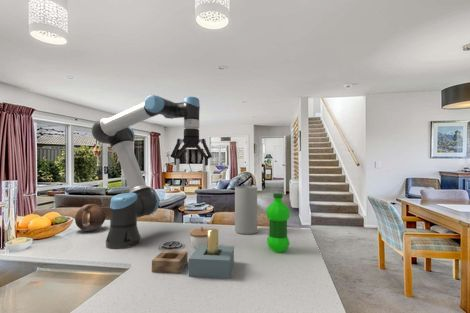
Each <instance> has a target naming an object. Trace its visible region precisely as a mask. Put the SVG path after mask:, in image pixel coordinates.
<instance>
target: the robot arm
mask: <svg viewBox="0 0 470 313" xmlns="http://www.w3.org/2000/svg"><path fill="white" fill-rule="evenodd" d="M200 106H201V105H200V99H199V98H198V97H197V96H185V97H184V99H183V102H173V101H171V100H169V99H167V98H166V99H165V98H164V97H161V96H159V95H155V94H150V95H148V96H147V97H146V98H145V99H144V101H143V102H141V103H140V104H138V105H134V106H133V107H131V108H128V109H127V110H123V111H122V112H119V113H117V114H115V115H113V116H110V117H103V118H101V119H99V120H96V122H94V123H93V124H92V127H91V135H92V136H93V138H94V140H96V141H97V142H99V143H101V144H109V146H110V148H111V151H114V152H115V154H116V156H117V158H118V162H119V164H120V167H121V170H122V173H123V175H124V178H125V181H126V183H127V186H128V189H129V192H124V193H119V194H116V195H113V196H112V197H111V199H110V204H109V209H110V212H109V216H110V219H109V222H110V223H109V224H110V225H109V231H108V234H107V236H106V239H105V247H106V248H108V249H125V248H127V249H128V248H131V247H133V246H137V245H139V244H140V243H141V235H140V232H139V229H138V228H139V227H138V226H137V225H138V223H137V222H138V219H139V218H141V217H145V216H150V215H151V214H154V213H155V212H157V211H158V208H159V207H160V198H159V195H158V194H157V193H155V192H154V191H152V189H151V187H150V186H148V185H147V184H146V182H145V179H144V176H143V174H142V170H141V168H140V165H139V162H138V160H137V158H136V154H135V152H134V150H133V145H134V141H135V131H134V130H133V129H132V126H134V125H136V124H138V123H141V122H144V121H146V120H149V119H150V118H153V117H155V116H159V115H160V116H163V117H164V118H165V119H171V120H172V119H180V118H181V119H183V128H184V129H183V138H182V139H181V138H177V139H176V144H175V146H174V148H173V150H172V152H171V154H170V158H172V159H174V160H173V164H174V166H175V173H180V162H181V161H180V158H179V157H180V156H181V155H182V154H183V153H184V151H186V149H187V148H188V149H197V151H198V152H199V153H200V154H201V156H202V157H203V159H202V173H204V174H205V173H206V172H207V166H208V165H209V159H210V158H212V157H213V155H212V154H211V151H210V149H209V147H208V145H207V140H206V138H202V139H200V130H199V129H200V110H201V109H200V108H201V107H200ZM181 144H183V145H182V147H181ZM199 144H202V145H203V146H202V147H203V148H204V150H203V149H202V148H201V146H200V145H199ZM180 147H181V148H180ZM179 148H180V149H179Z"/></svg>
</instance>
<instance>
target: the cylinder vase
mask: <svg viewBox="0 0 470 313" xmlns="http://www.w3.org/2000/svg"><path fill="white" fill-rule="evenodd" d="M234 231H235V233H237V234H240V235H254V234H257V232H258V187H257V186H253V185H239V186H235V187H234Z"/></svg>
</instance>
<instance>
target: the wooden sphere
mask: <svg viewBox="0 0 470 313" xmlns="http://www.w3.org/2000/svg"><path fill="white" fill-rule="evenodd" d="M106 215H107V214H106V211H105V210H104V208H103V207H102V206H101V205H98V204H97V203H96V204H95V203H89V204H88V203H87V204H84V205H83V206H81V207H80V208H79V209H78V210H77V211H76V214H75V217H74V222H75V225H76V227H77V228H78V229H80V230H81V231H85V232H91V231H96V230H98V229H99V228H101V227H102V225H104V223H105V220H106V217H107V216H106Z"/></svg>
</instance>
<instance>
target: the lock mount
mask: <svg viewBox="0 0 470 313" xmlns="http://www.w3.org/2000/svg"><path fill="white" fill-rule="evenodd" d="M188 255H189V254H188V251H184V250H183V251H181V250H162V251H161V252H159V254H158V255H156V256H155V257H154V258H153V259H152V260H151V272H152V273H167V274H170V273H171V274H180V273H181V271H182V270H183V269H184V268H185V266H186V265H187V264H188V263H189V257H188Z"/></svg>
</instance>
